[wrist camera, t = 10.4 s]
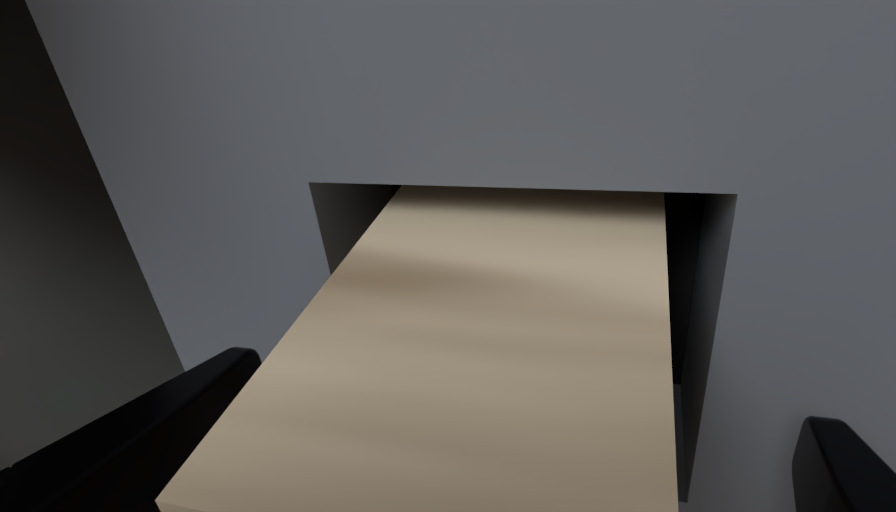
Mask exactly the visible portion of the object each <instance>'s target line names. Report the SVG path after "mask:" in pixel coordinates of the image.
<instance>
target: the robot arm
mask: <svg viewBox="0 0 896 512" xmlns="http://www.w3.org/2000/svg"><path fill="white" fill-rule="evenodd" d="M261 364H262V362H261V359H260V356H259V354H258V353H257V351H256V350H254V349H251V348H243V347H231V348H229V349H227V350H225V351H223V352H221V353H219V354H217V355H216V356H214V357H212V358H210V359H208V360H206V361H204V362H202V363H201V364H199V365H197V366H195V367H193V368H191V369H189V370H188V371H186V372H184V373H182V374H180V375H178V376H176V377H175V378H173V379H171V380H169V381H167V382H165V383H163V384H162V385H160V386H158V387H156V388H154V389H152V390H150V391H148V392H147V393H145V394H143V395H141V396H139V397H137V398H135V399H134V400H132V401H130V402H128V403H126V404H124V405H122V406H121V407H119V408H117V409H115V410H113V411H111V412H109V413H108V414H106V415H104V416H102V417H100V418H98V419H96V420H94V421H93V422H91V423H89V424H87V425H85V426H83V427H81V428H80V429H78V430H76V431H74V432H72V433H70V434H68V435H67V436H65V437H63V438H61V439H59V440H57V441H55V442H53V443H52V444H50V445H48V446H46V447H44V448H42V449H40V450H39V451H37V452H35V453H33V454H31V455H29V456H27V457H26V458H24V459H22V460H20V461H18V462H16V463H15V464H13V465H12V467H7V468H5V469H3V470H1V471H0V512H161V511H160V509H159V507H158V505H157V503H156V502H155V500H156V498H157V497H158V496H159V494H160V493H161V492H162V491H163V489H164V488H165V487H166V485H167V484H168V483H169V482H170V480H171V479H172V478H173V477H174V475H175V474H176V473H177V471H178V470H179V469H180V468H181V466H182V465H183V464H184V463H185V461H186V460H187V459H188V457H189V456H190V455H191V454H192V452H193V451H194V450H195V448H196V447H197V446H198V445H199V443H200V442H201V441H202V440H203V438H204V437H205V436H206V434H207V433H208V432H209V431H210V429H211V428H212V427H213V426H214V424H215V423H216V422H217V420H218V419H219V418H220V417H221V415H222V414H223V413H224V411H225V410H226V409H227V408H228V406H229V405H230V404H231V403H232V401H233V400H234V399H235V397H236V396H237V395H238V394H239V392H240V391H241V390H242V389H243V387H244V386H245V385H246V383H247V382H248V381H249V380H250V378H251V377H252V376H253V375H254V373H255V372H256V371H257V369H258V368H259V367H260V366H261ZM792 481H793V490H794V499H795V507H796V512H896V473H895V472H894V471H893V470H892V469H891V468H890V467H889V466H888V465H887V464H886V463H885V462H884V461H883V460H882V458H881V457H880V456H879V455H878V454H877V453H876V452H875V451H874V450H873V449H872V448H871V447H870V446H869V445H868V444H867V443H866V442H865V441H864V440H863V439H862V438H861V437H860V436H859V435H858V434H857V433H856V432H855V431H854V430H853V429H852V428H851V427H850V426H849V425H848V424H847V423H845V422H844V421H842V420H840V419H835V418H827V417H818V416H808V417H806V418H805V420H804V421H803V423H802V427H801V430H800V434H799V437H798V441H797V444H796V447H795V451H794V454H793V458H792Z"/></svg>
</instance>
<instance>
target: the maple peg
mask: <svg viewBox="0 0 896 512" xmlns="http://www.w3.org/2000/svg"><path fill="white" fill-rule="evenodd" d="M155 502H156V503H157V505H158V507H159V509H160V511H161V512H678V491H677V469H676V446H675V424H674V402H673V379H672V357H671V334H670V312H669V290H668V267H667V245H666V223H665V200H664V192H646V191H610V190H573V189H537V188H500V187H464V186H427V185H402V186H401V187H400V188H399V190H398V191H397V192H396V193H395V195H394V196H393V197H392V198H391V200H390V201H389V202H388V204H387V205H386V206H385V207H384V209H383V210H382V211H381V213H380V214H379V215H378V216H377V218H376V219H375V220H374V221H373V223H372V224H371V225H370V227H369V228H368V229H367V230H366V232H365V233H364V234H363V235H362V237H361V238H360V239H359V241H358V242H357V243H356V244H355V246H354V247H353V248H352V249H351V251H350V252H349V253H348V255H347V256H346V257H345V258H344V260H343V261H342V262H341V264H340V265H339V266H338V267H337V269H336V270H335V271H334V272H333V274H332V275H331V276H330V278H329V279H328V280H327V281H326V283H325V284H324V285H323V286H322V288H321V289H320V290H319V292H318V293H317V294H316V295H315V297H314V298H313V299H312V301H311V302H310V303H309V304H308V306H307V307H306V308H305V309H304V311H303V312H302V313H301V315H300V316H299V317H298V318H297V320H296V321H295V322H294V323H293V325H292V326H291V327H290V329H289V330H288V331H287V332H286V334H285V335H284V336H283V338H282V339H281V340H280V341H279V343H278V344H277V345H276V346H275V348H274V349H273V350H272V352H271V353H270V354H269V355H268V357H267V358H266V359H265V360H264V362H263V363H262V364H261V366H260V367H259V368H258V369H257V371H256V372H255V373H254V375H253V376H252V377H251V378H250V380H249V381H248V382H247V383H246V385H245V386H244V387H243V389H242V390H241V391H240V392H239V394H238V395H237V396H236V397H235V399H234V400H233V401H232V403H231V404H230V405H229V406H228V408H227V409H226V410H225V411H224V413H223V414H222V415H221V417H220V418H219V419H218V420H217V422H216V423H215V424H214V426H213V427H212V428H211V429H210V431H209V432H208V433H207V434H206V436H205V437H204V438H203V440H202V441H201V442H200V443H199V445H198V446H197V447H196V448H195V450H194V451H193V452H192V454H191V455H190V456H189V457H188V459H187V460H186V461H185V463H184V464H183V465H182V466H181V468H180V469H179V470H178V471H177V473H176V474H175V475H174V477H173V478H172V479H171V480H170V482H169V483H168V484H167V485H166V487H165V488H164V489H163V491H162V492H161V493H160V494H159V496H158V497H157V498H156V500H155Z"/></svg>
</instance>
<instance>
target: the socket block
mask: <svg viewBox="0 0 896 512" xmlns="http://www.w3.org/2000/svg"><path fill="white" fill-rule="evenodd" d="M25 1H26V4H27V6H28V8H29V11H30V13H31V15H32V18H33V20H34V22H35V25H36V27H37V29H38V32H39V34H40V36H41V38H42V41H43V43H44V45H45V48H46V50H47V52H48V55H49V57H50V59H51V62H52V64H53V66H54V69H55V71H56V73H57V76H58V78H59V80H60V82H61V85H62V87H63V89H64V92H65V94H66V96H67V99H68V101H69V103H70V106H71V108H72V110H73V113H74V115H75V117H76V120H77V122H78V124H79V127H80V129H81V131H82V133H83V136H84V138H85V140H86V143H87V145H88V147H89V150H90V152H91V154H92V157H93V159H94V161H95V164H96V166H97V168H98V171H99V173H100V175H101V177H102V180H103V182H104V184H105V187H106V189H107V191H108V194H109V196H110V198H111V201H112V203H113V205H114V208H115V210H116V212H117V215H118V217H119V219H120V221H121V224H122V226H123V228H124V231H125V233H126V235H127V238H128V240H129V242H130V245H131V247H132V249H133V252H134V254H135V256H136V259H137V261H138V263H139V266H140V268H141V270H142V272H143V275H144V277H145V279H146V282H147V284H148V286H149V289H150V291H151V293H152V296H153V298H154V300H155V303H156V305H157V307H158V310H159V312H160V314H161V316H162V319H163V321H164V323H165V326H166V328H167V330H168V333H169V335H170V337H171V340H172V342H173V344H174V347H175V349H176V351H177V354H178V356H179V358H180V360H181V363H182V365H183V367H184V370H185V372H186V371H188V370H189V369H191V368H193V367H195V366H197V365H199V364H201V363H202V362H204V361H206V360H208V359H210V358H212V357H214V356H216V355H217V354H219V353H221V352H223V351H225V350H227V349H229V348H231V347H243V348H251V349H254V350H256V351H257V353H258V354H259V356H260V359H261V362H262V363H263V362H264V360H265V359H266V358H267V357H268V355H269V354H270V353H271V352H272V350H273V349H274V348H275V346H276V345H277V344H278V343H279V341H280V340H281V339H282V338H283V336H284V335H285V334H286V332H287V331H288V330H289V329H290V327H291V326H292V325H293V323H294V322H295V321H296V320H297V318H298V317H299V316H300V315H301V313H302V312H303V311H304V309H305V308H306V307H307V306H308V304H309V303H310V302H311V301H312V299H313V298H314V297H315V295H316V294H317V293H318V292H319V290H320V289H321V288H322V286H323V285H324V284H325V283H326V281H327V280H328V279H329V278H330V276H331V275H332V274H333V272H334V271H335V270H336V269H337V267H338V266H339V265H340V264H341V262H342V261H343V260H344V258H345V257H346V256H347V255H348V253H349V252H350V251H351V249H352V248H353V247H354V246H355V244H356V243H357V242H358V241H359V239H360V238H361V237H362V235H363V234H364V233H365V232H366V230H367V229H368V228H369V227H370V225H371V224H372V223H373V221H374V220H375V219H376V218H377V216H378V215H379V214H380V213H381V211H382V210H383V209H384V207H385V206H386V205H387V204H388V202H389V201H390V200H391V198H392V197H393V194H392V188H391V185H427V186H464V187H500V188H537V189H573V190H610V191H646V192H683V193H706V196H705V204H704V211H703V219H702V226H701V234H700V241H699V249H698V256H697V264H696V271H695V279H694V286H693V294H692V301H691V309H690V316H689V324H688V331H687V339H686V346H685V354H684V361H683V369H682V376H681V384H673V402H674V424H675V446H676V469H677V491H678V512H796V507H795V499H794V490H793V481H792V458H793V454H794V451H795V447H796V444H797V441H798V437H799V434H800V430H801V427H802V423H803V421H804V420H805V418H806V417H808V416H818V417H827V418H835V419H840V420H842V421H844V422H845V423H847V424H848V425H849V426H850V427H851V428H852V429H853V430H854V431H855V432H856V433H857V434H858V435H859V436H860V437H861V438H862V439H863V440H864V441H865V442H866V443H867V444H868V445H869V446H870V447H871V448H872V449H873V450H874V451H875V452H876V453H877V454H878V455H879V456H880V457H881V458H882V460H883V461H884V462H885V463H886V464H887V465H888V466H889V467H890V468H891V469H892V470H893V471H894V472H895V473H896V0H25Z"/></svg>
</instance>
